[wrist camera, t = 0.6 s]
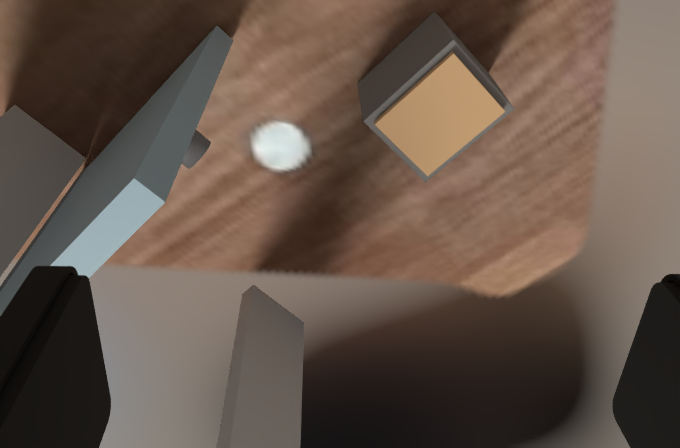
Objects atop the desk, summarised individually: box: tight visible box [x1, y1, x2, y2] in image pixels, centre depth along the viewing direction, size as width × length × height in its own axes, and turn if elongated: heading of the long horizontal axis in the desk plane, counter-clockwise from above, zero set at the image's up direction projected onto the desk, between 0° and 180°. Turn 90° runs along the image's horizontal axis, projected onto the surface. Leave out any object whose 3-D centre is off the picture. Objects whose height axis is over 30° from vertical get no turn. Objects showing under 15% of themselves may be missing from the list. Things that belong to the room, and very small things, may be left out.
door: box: [0, 26, 233, 316], centre depth 31 cm, size 14×3×19 cm, turn 134°
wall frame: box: [0, 105, 304, 448], centre depth 34 cm, size 1×24×22 cm, turn 44°
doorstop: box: [357, 11, 514, 182], centre depth 36 cm, size 6×5×6 cm
